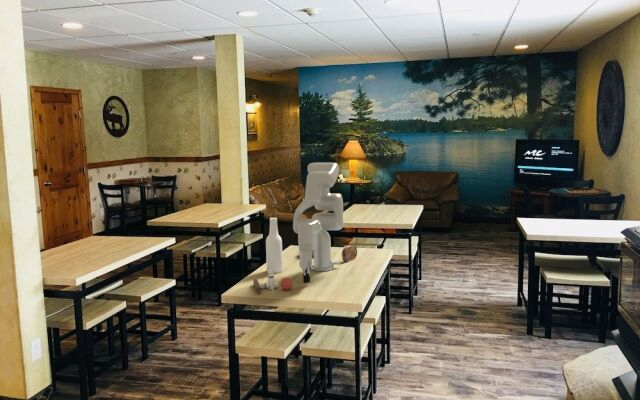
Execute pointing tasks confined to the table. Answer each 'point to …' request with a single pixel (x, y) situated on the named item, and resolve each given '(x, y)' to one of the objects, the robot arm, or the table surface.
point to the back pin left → (271, 280)
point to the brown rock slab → (349, 253)
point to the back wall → (257, 286)
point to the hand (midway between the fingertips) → (306, 282)
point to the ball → (286, 283)
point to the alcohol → (274, 248)
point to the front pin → (265, 286)
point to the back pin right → (268, 274)
